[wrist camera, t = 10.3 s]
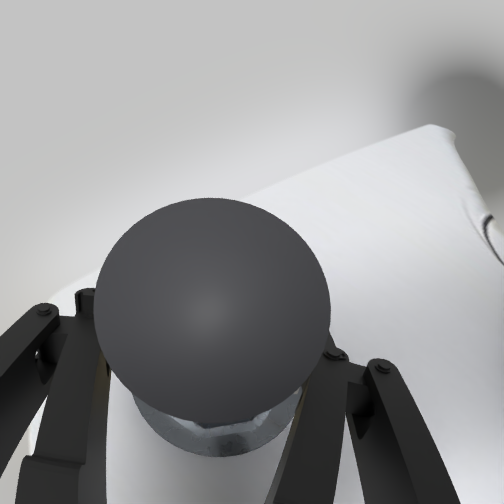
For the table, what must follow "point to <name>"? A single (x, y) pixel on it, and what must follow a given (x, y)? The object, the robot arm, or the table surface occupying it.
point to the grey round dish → (221, 429)
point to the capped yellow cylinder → (212, 310)
